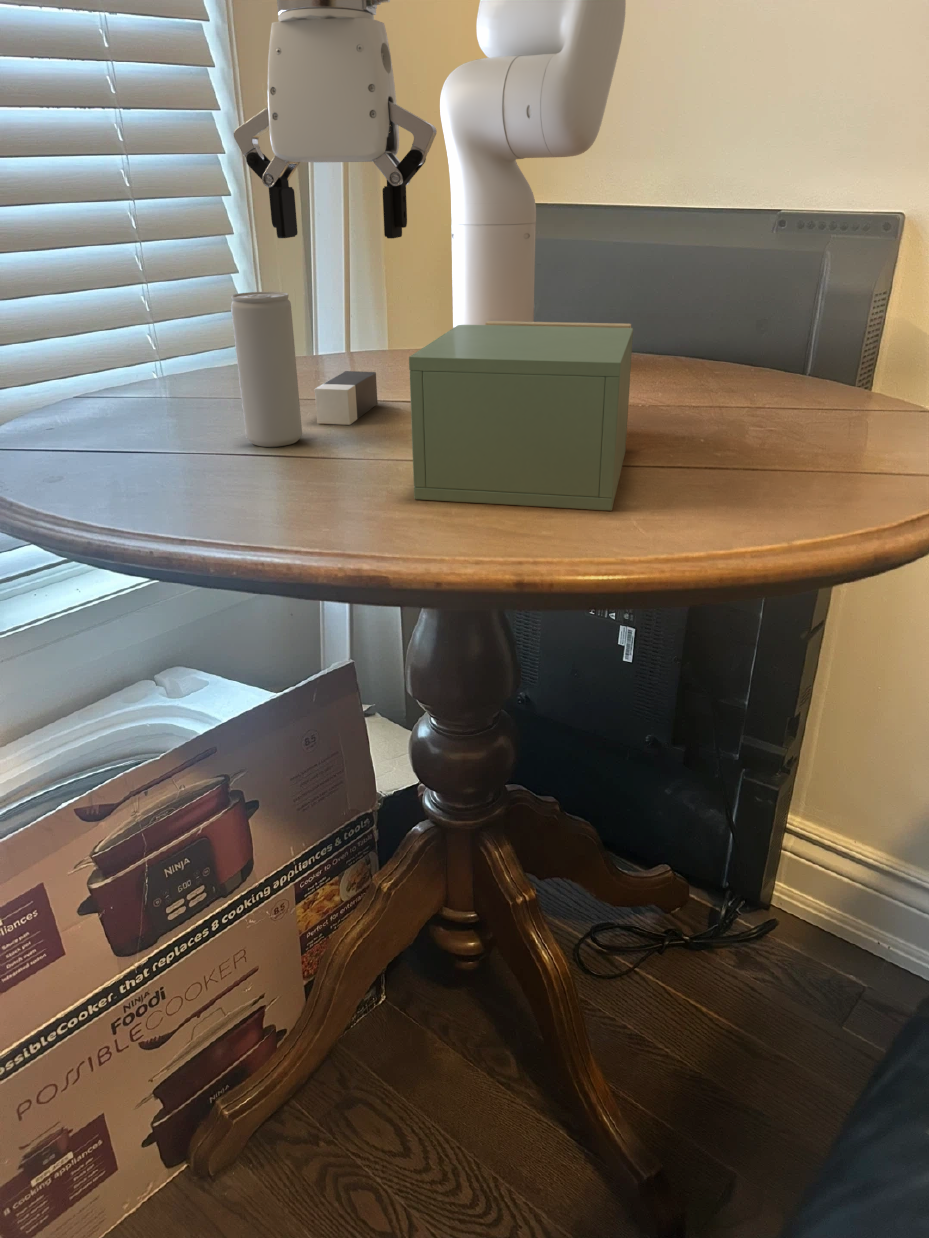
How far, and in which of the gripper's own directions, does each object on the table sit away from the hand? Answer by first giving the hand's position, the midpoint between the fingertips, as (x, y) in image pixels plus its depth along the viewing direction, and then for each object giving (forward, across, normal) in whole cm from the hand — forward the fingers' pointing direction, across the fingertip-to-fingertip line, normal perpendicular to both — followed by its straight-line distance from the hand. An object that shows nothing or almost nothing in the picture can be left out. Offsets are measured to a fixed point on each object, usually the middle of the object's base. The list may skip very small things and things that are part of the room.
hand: (340, 237), depth 80 cm
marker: (+16, +1, -2) cm, 16 cm away
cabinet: (+16, -19, +15) cm, 29 cm away
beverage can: (+16, +4, +9) cm, 19 cm away
